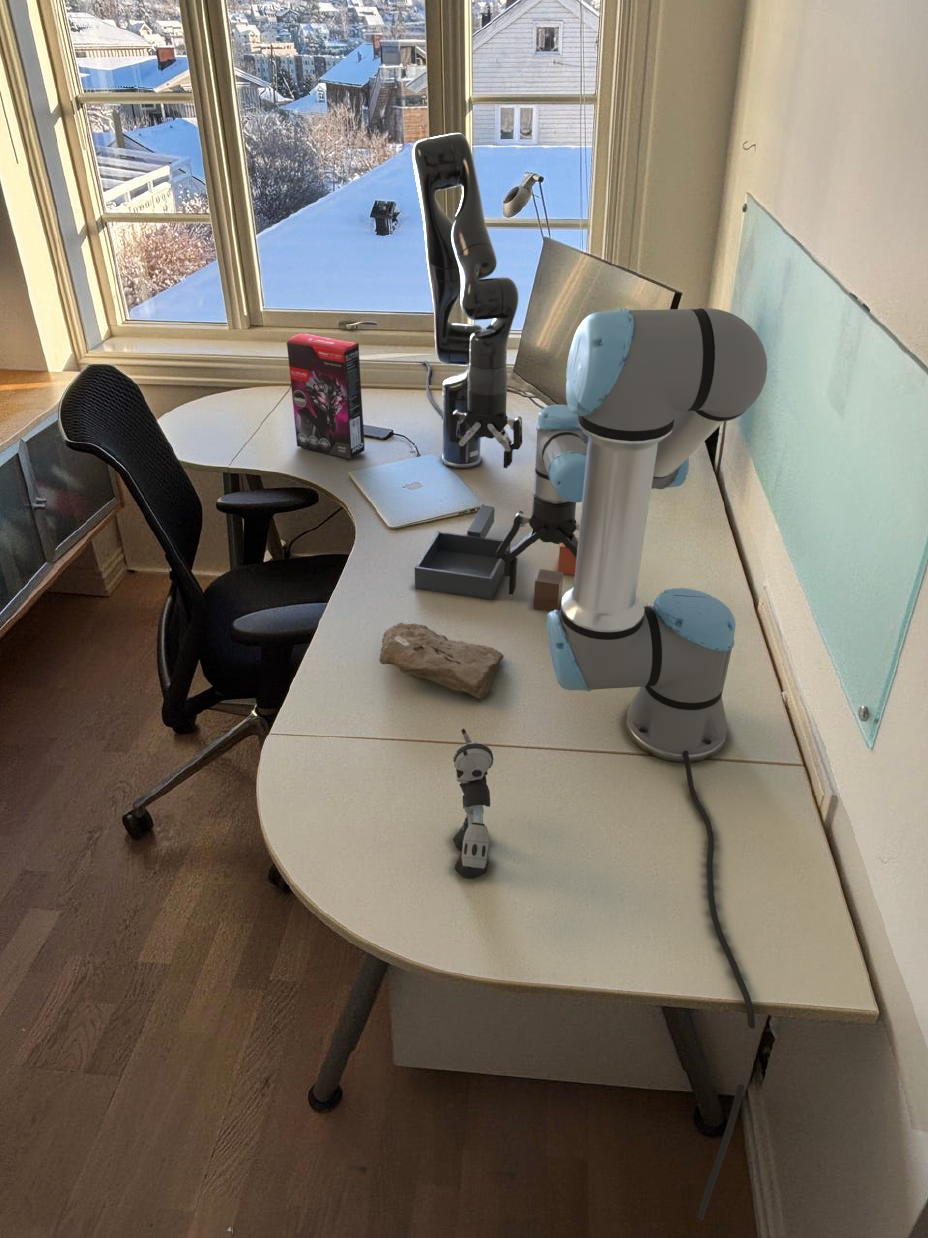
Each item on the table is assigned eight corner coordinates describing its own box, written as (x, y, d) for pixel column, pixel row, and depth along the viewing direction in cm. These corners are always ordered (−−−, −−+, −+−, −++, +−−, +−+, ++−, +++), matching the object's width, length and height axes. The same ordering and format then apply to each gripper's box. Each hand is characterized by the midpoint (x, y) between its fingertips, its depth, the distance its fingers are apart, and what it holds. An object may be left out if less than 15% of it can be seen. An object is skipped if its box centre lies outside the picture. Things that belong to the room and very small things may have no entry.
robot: (495, 914, 114) (500, 797, 103) (456, 915, 114) (456, 798, 103) (484, 799, 130) (487, 688, 119) (450, 801, 130) (450, 689, 119)
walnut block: (557, 612, 171) (559, 584, 167) (533, 608, 172) (534, 580, 168) (561, 599, 174) (563, 572, 171) (538, 595, 175) (539, 568, 172)
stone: (355, 671, 149) (362, 639, 147) (387, 639, 163) (394, 609, 160) (477, 715, 146) (486, 682, 144) (499, 678, 159) (507, 648, 157)
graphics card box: (294, 447, 232) (283, 339, 217) (310, 437, 237) (301, 331, 222) (351, 461, 225) (344, 350, 210) (367, 450, 230) (361, 342, 215)
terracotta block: (580, 575, 181) (582, 549, 178) (557, 572, 182) (559, 546, 179) (583, 564, 185) (586, 538, 182) (561, 561, 186) (563, 535, 183)
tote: (491, 600, 174) (492, 575, 171) (415, 588, 177) (414, 563, 174) (522, 533, 196) (523, 510, 193) (453, 524, 199) (453, 501, 196)
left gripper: (527, 383, 179) (524, 461, 188) (457, 376, 182) (456, 453, 191) (519, 396, 173) (515, 476, 182) (446, 389, 176) (446, 467, 185)
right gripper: (629, 493, 161) (616, 595, 173) (490, 475, 166) (487, 575, 178) (624, 513, 155) (611, 617, 167) (480, 494, 160) (478, 596, 172)
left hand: (485, 464), depth 186 cm, fingers open, 8 cm apart
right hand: (547, 596), depth 172 cm, fingers open, 13 cm apart
